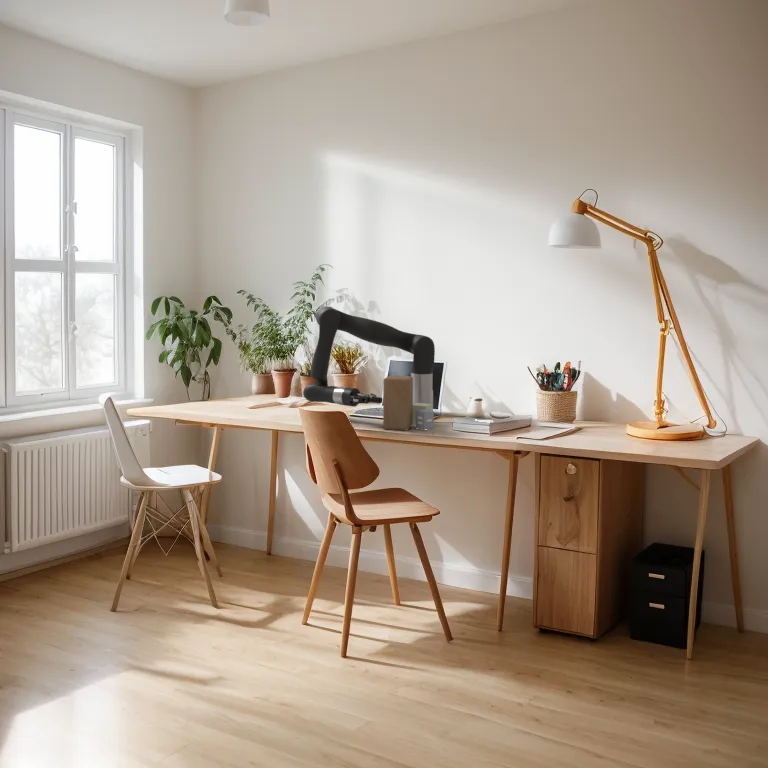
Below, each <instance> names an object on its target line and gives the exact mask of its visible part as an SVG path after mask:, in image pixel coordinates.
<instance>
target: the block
mask: <svg viewBox="0 0 768 768" xmlns="http://www.w3.org/2000/svg"><path fill="white" fill-rule="evenodd" d="M382 383H383V384H382V389H383V390H382V391H383V392H382V393H383V397H382V404H383V405H382V407H383V408H382V412H383V413H382V420H383V421H382V424H383V425H382V427H383V429H384V430H388V429H394V430H393V431H408V430H409V429H410V428H411V427H413V425H412V424H413V378H412V377H411V375H388V376H387V377H384V378H383V382H382Z"/></svg>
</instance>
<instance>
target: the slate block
mask: <svg viewBox="0 0 768 768" xmlns="http://www.w3.org/2000/svg"><path fill="white" fill-rule="evenodd" d="M416 428H418V429H417V430H420V429H423V430H422V431H426V430H425V429H430V430H434V429H435V411H434V410H433V411H431V410H426V409H425V410H418V411H416V425H415V429H416Z"/></svg>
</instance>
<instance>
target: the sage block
mask: <svg viewBox="0 0 768 768" xmlns="http://www.w3.org/2000/svg"><path fill="white" fill-rule="evenodd" d="M425 409H426V410H431V411H432V404H426V403H416V404H413V424H412V426H416V411H418V410H425Z"/></svg>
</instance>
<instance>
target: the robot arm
mask: <svg viewBox="0 0 768 768" xmlns="http://www.w3.org/2000/svg"><path fill="white" fill-rule="evenodd" d="M315 320H316V323H317V324H318V327H319V328H318V329H319V332H318V339H317V345H316V348H315V351H314V353H313V357H312V362H311V367H310V377H311V378H312V379H314V383H313V384H307V385H306V386H305V387H304V388H303V391H302V394H303V397H304V398H305V400H307V401H309V402H315V403H328V404H329V403H330V404H336V405H340V406H344V407H345V406H346V407H347V406H348V407H355V408H356V407H357V406H358V405H359V404H365V405H366V404H367V405H368V404H373V403H374V404H383V397H381V396H377V395H376V394H374V393H367V392H361V391H360V390H359V388H357V387H349V386H335V385H329V383H328V381H329V380H328V372H329V366H330V361H331V359H330V358H331V354H332V349H333V345H334V341H335V337H336V335H337V331H341V332H345V333H347V334H349V335H351V336H354V337H355V338H358V339H360V340H363V341H365V342H368V343H372V344H373V345H374V344H375V345H379V346H382V347H389V348H395V349H399V350H403V351H405V352H408V353H409V354H411V355H413V358H412V365H411V366H410V376H411V377H412V378H413V404H416V403H426V404H432V411H434V390H433V374H434V373H433V371H434V367H435V355H436V354H435V353H436V352H435V351H436V350H435V349H436V348H435V347H436V346H435V342H434V340H433V339H432V338H431V337H429V336H426V335H422V334H416V333H410V332H406V331H402V330H399V329H397V328H396V327H393V326H391V325H389V324H386V323H384V322H382V321H376V320H373V319H370V318H365V317H360V316H355V315H351V314H348V313H345V312H343V311H340V310H338V309H335V308H334V307H331V306H328V305H327V306H323V307H320V308H319V309H318V310H317V312H316V313H315Z"/></svg>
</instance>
